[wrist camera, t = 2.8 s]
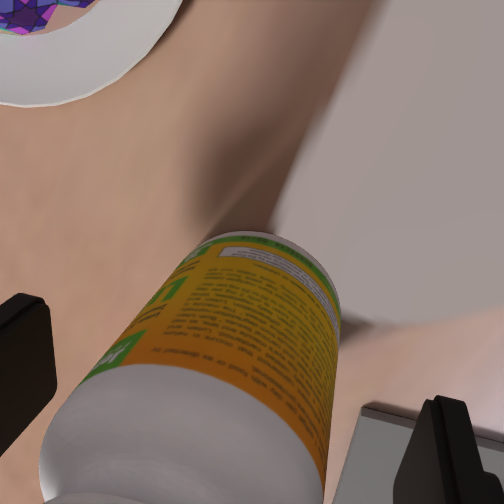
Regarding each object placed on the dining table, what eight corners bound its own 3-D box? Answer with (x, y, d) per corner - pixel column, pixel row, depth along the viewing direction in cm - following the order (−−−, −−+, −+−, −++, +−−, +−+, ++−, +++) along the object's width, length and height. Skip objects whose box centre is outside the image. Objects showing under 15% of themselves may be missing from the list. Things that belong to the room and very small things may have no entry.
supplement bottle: (202, 197, 13) (-102, 486, 5) (373, 271, 13) (382, 720, 4) (159, 332, 16) (-89, 679, 7) (301, 396, 16) (219, 836, 7)
